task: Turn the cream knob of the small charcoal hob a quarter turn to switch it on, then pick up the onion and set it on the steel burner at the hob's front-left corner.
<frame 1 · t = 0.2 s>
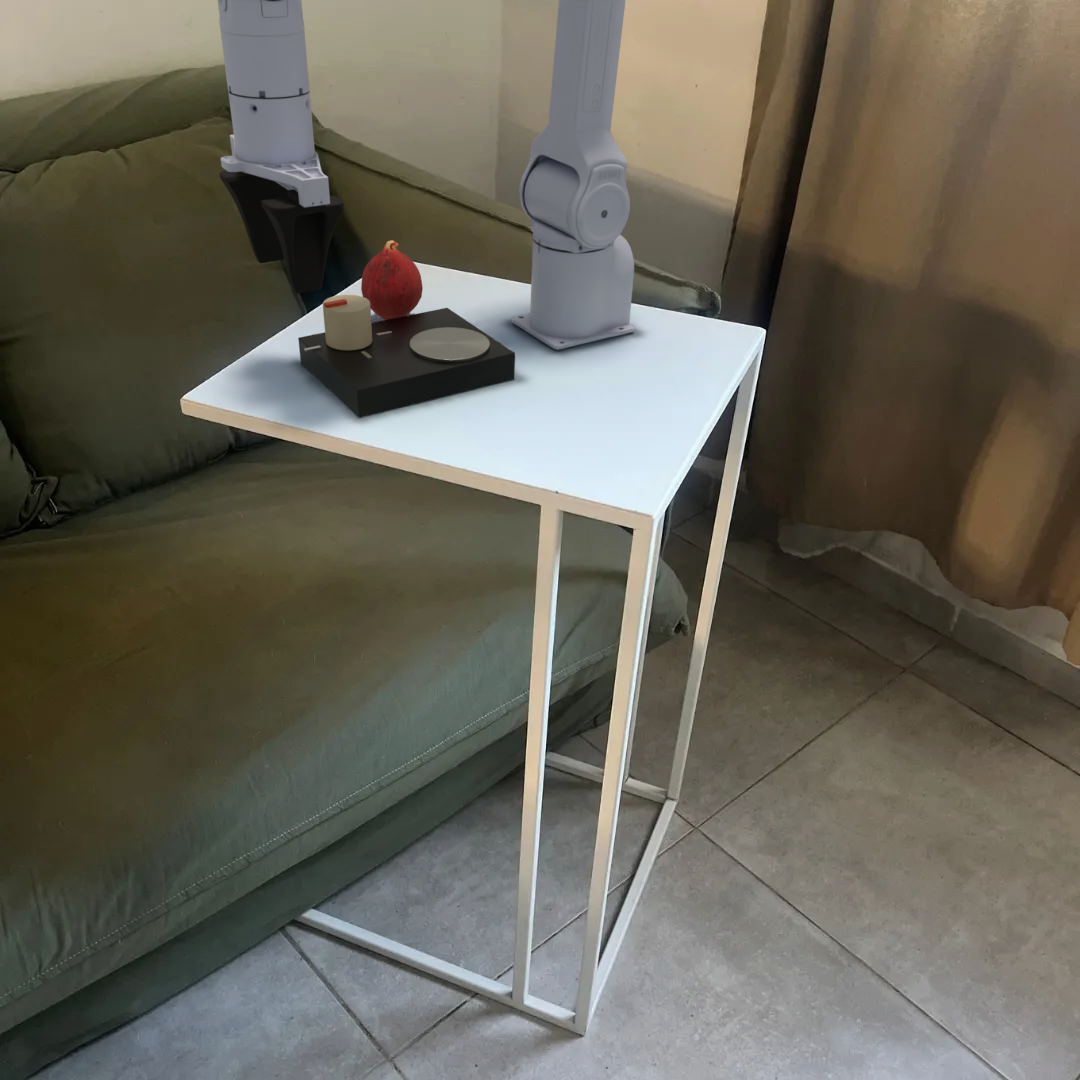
hand: (288, 274, 80), 10 cm above the table, tool pointing down, fingers open, 7 cm apart
onion: (393, 324, 99), on the table
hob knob: (347, 320, 87), point 4 cm above the table, hinge at 0.0°
burner: (449, 346, 89), resting on hob
hob: (407, 371, 90), on the table
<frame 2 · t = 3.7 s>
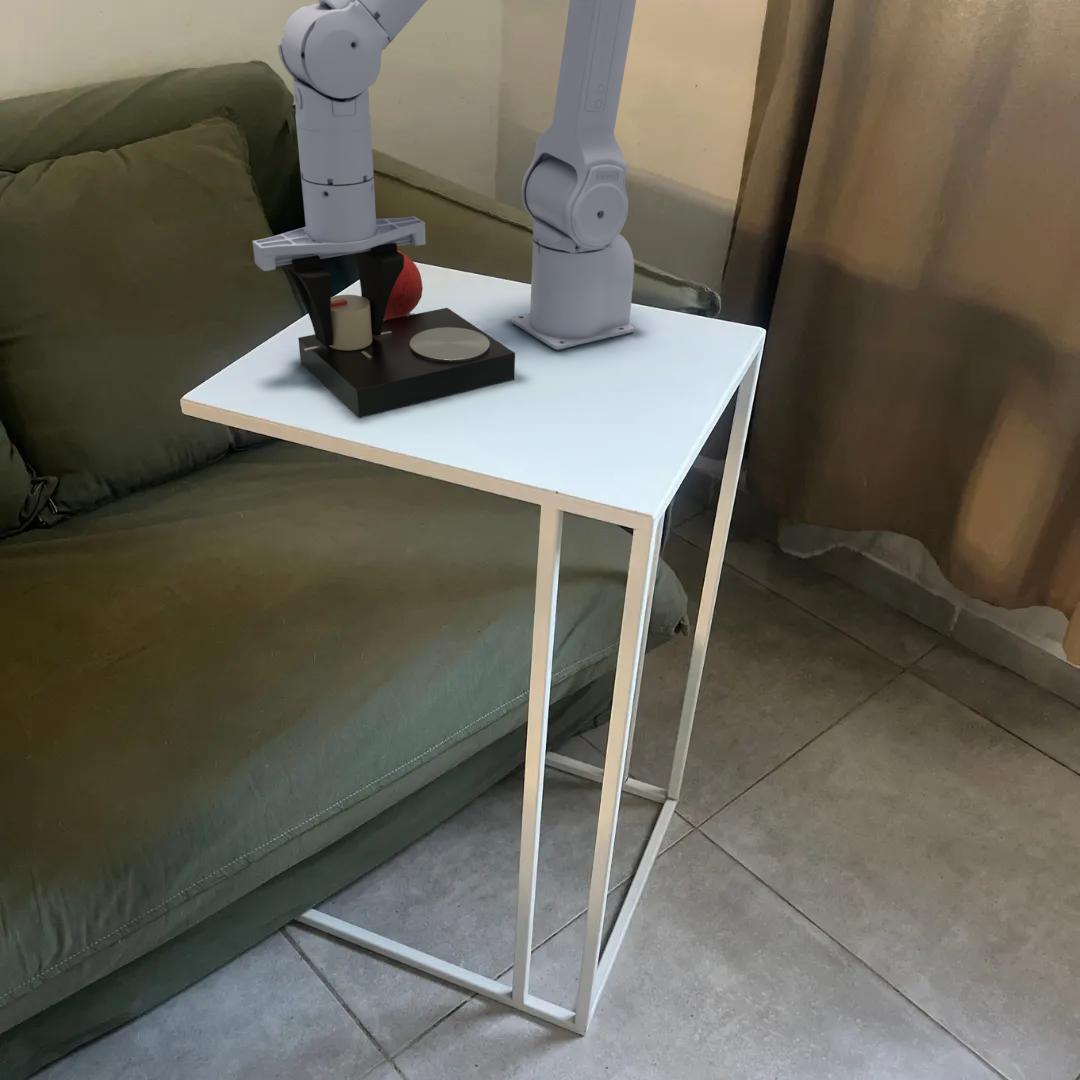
hand: (349, 336, 88), 3 cm above the table, tool pointing down, fingers closed on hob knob, 4 cm apart
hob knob: (347, 320, 87), point 4 cm above the table, hinge at -0.1°, touching gripper
everything else where it was.
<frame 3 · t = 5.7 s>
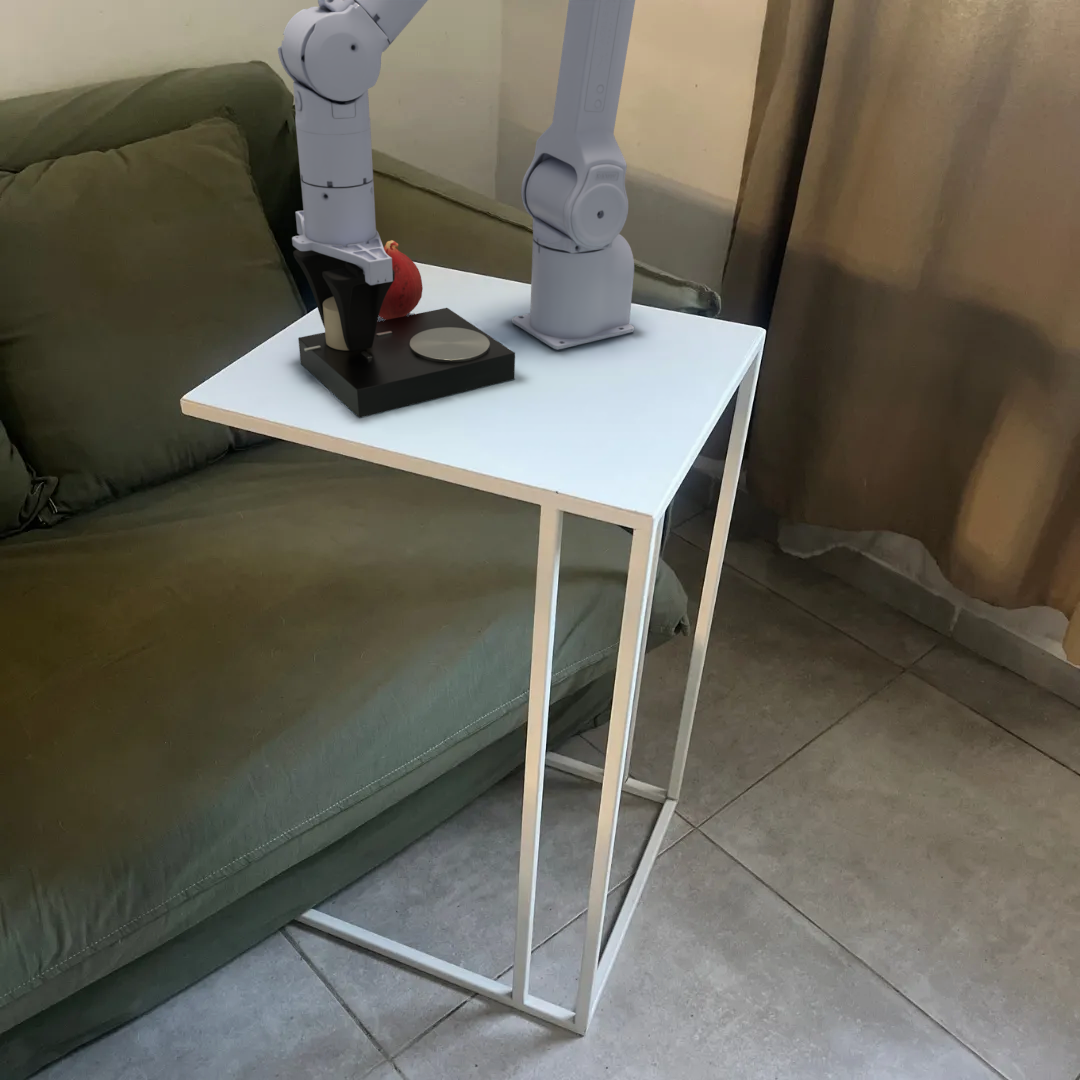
hand: (348, 338, 88), 3 cm above the table, tool pointing down, fingers closed on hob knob, 4 cm apart
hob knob: (347, 320, 87), point 4 cm above the table, hinge at 90.6°, touching gripper
everything else where it was.
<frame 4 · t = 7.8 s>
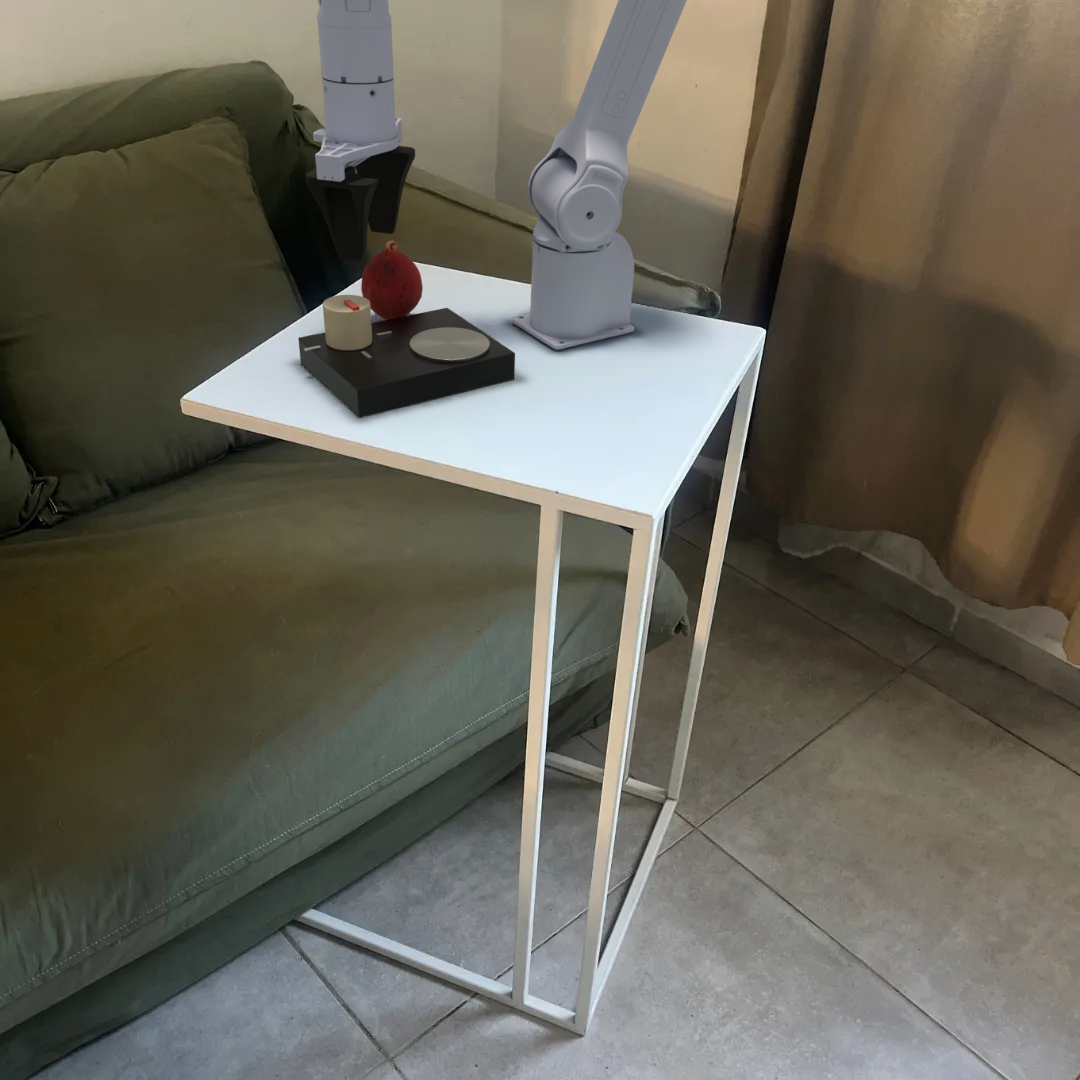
hand: (367, 244, 89), 9 cm above the table, tool pointing down, fingers open, 7 cm apart
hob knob: (347, 320, 87), point 4 cm above the table, hinge at 90.6°
everything else where it was.
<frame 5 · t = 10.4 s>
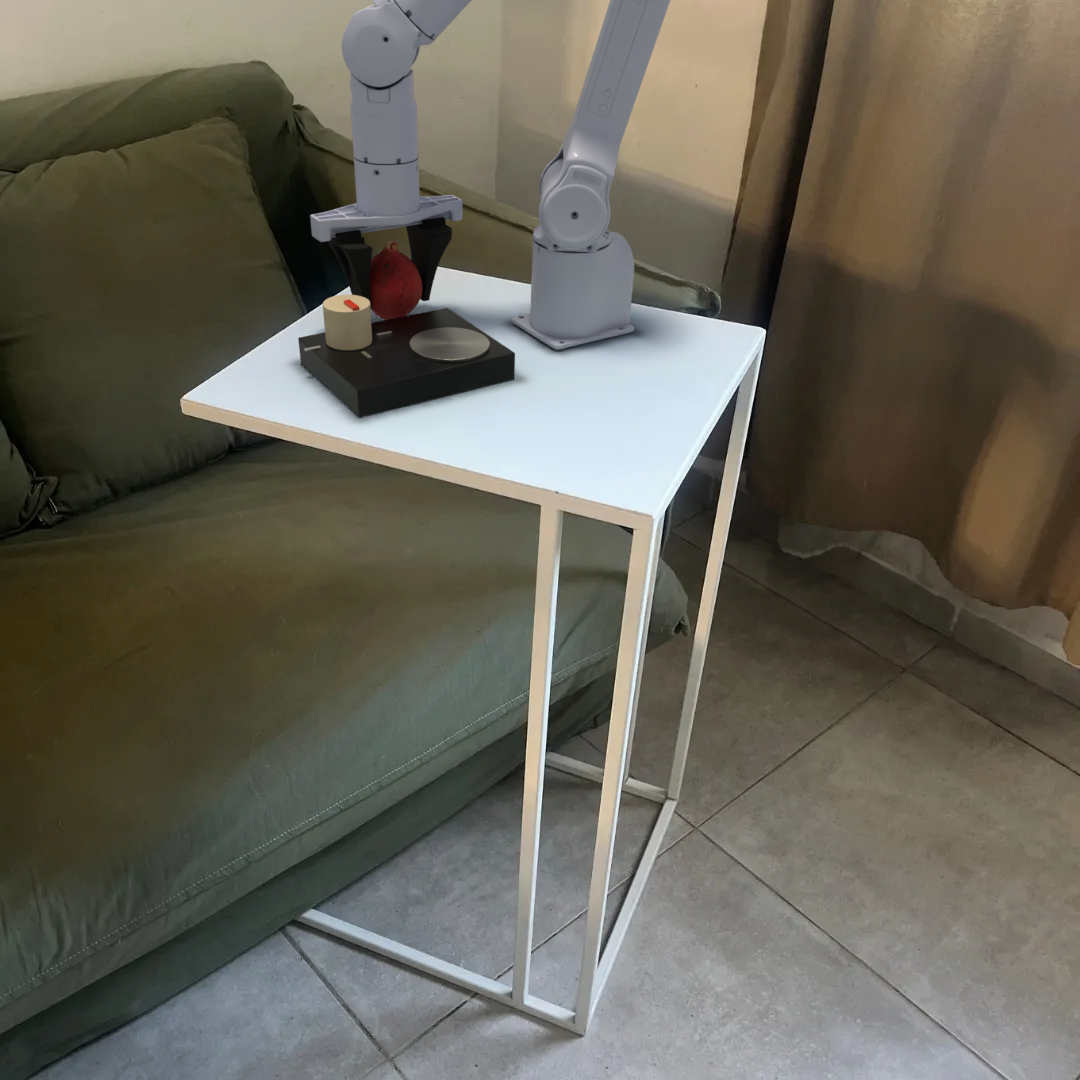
hand: (392, 303, 98), 2 cm above the table, tool pointing down, fingers closed on onion, 6 cm apart
onion: (393, 324, 99), on the table, touching gripper
everything else where it was.
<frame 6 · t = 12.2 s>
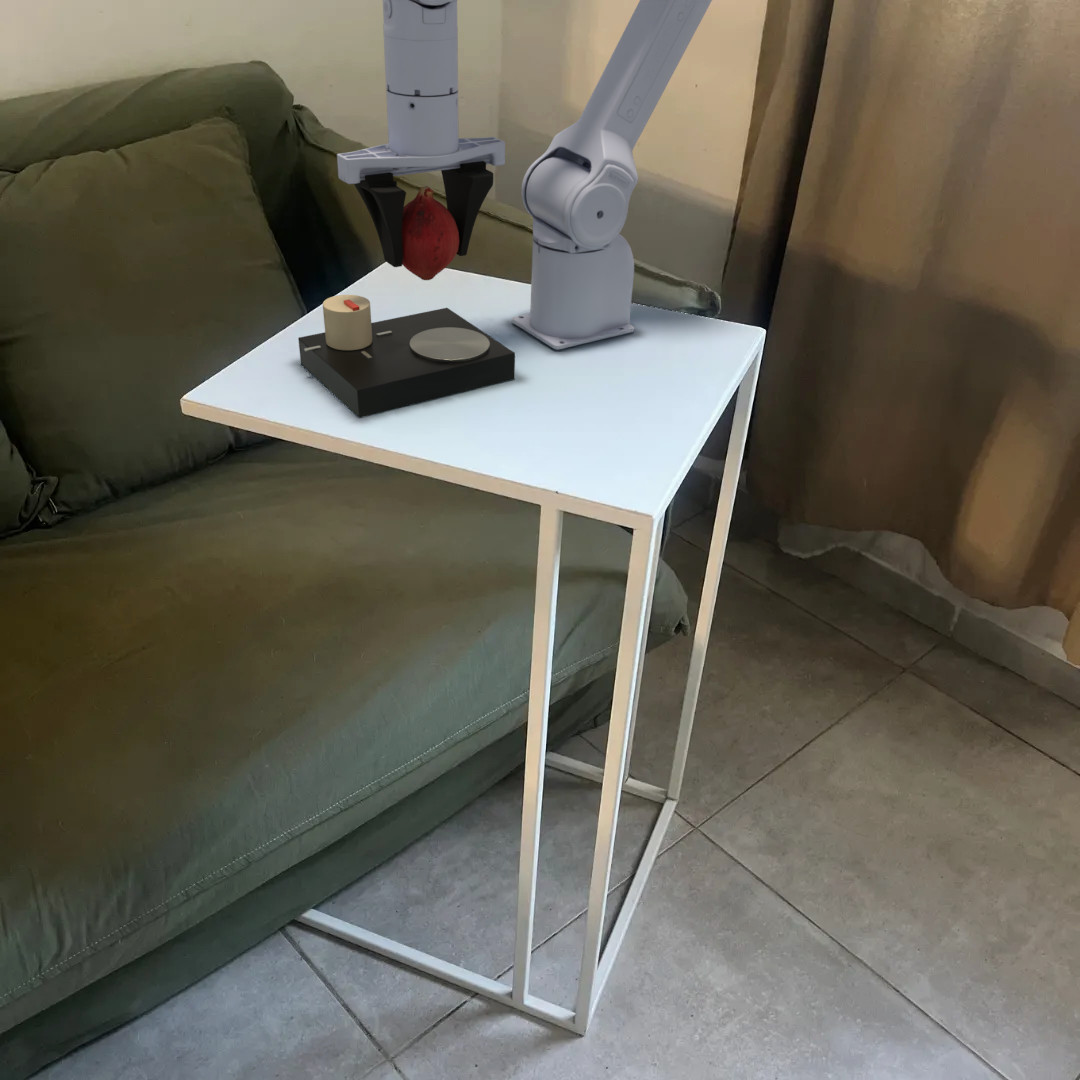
hand: (426, 257, 88), 9 cm above the table, tool pointing down, fingers closed on onion, 6 cm apart
onion: (426, 282, 89), point 7 cm above the table, touching gripper
everything else where it was.
when the fingers open (5 cm above the table, at t = 14.4 s): onion stays where it is, resting on burner.
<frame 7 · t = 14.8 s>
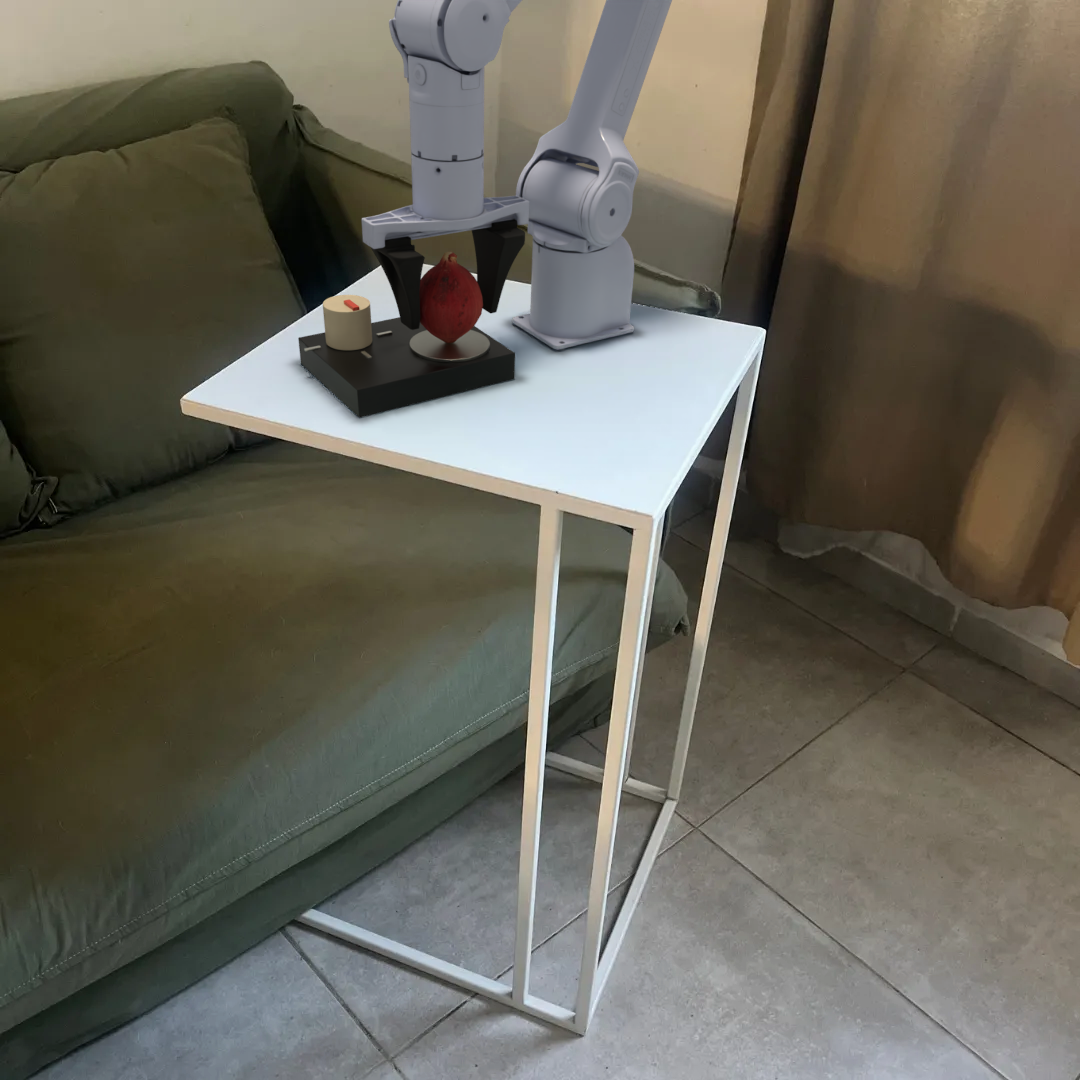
hand: (449, 317, 87), 5 cm above the table, tool pointing down, fingers open, 7 cm apart
onion: (449, 345, 89), point 3 cm above the table, touching burner
everything else where it was.
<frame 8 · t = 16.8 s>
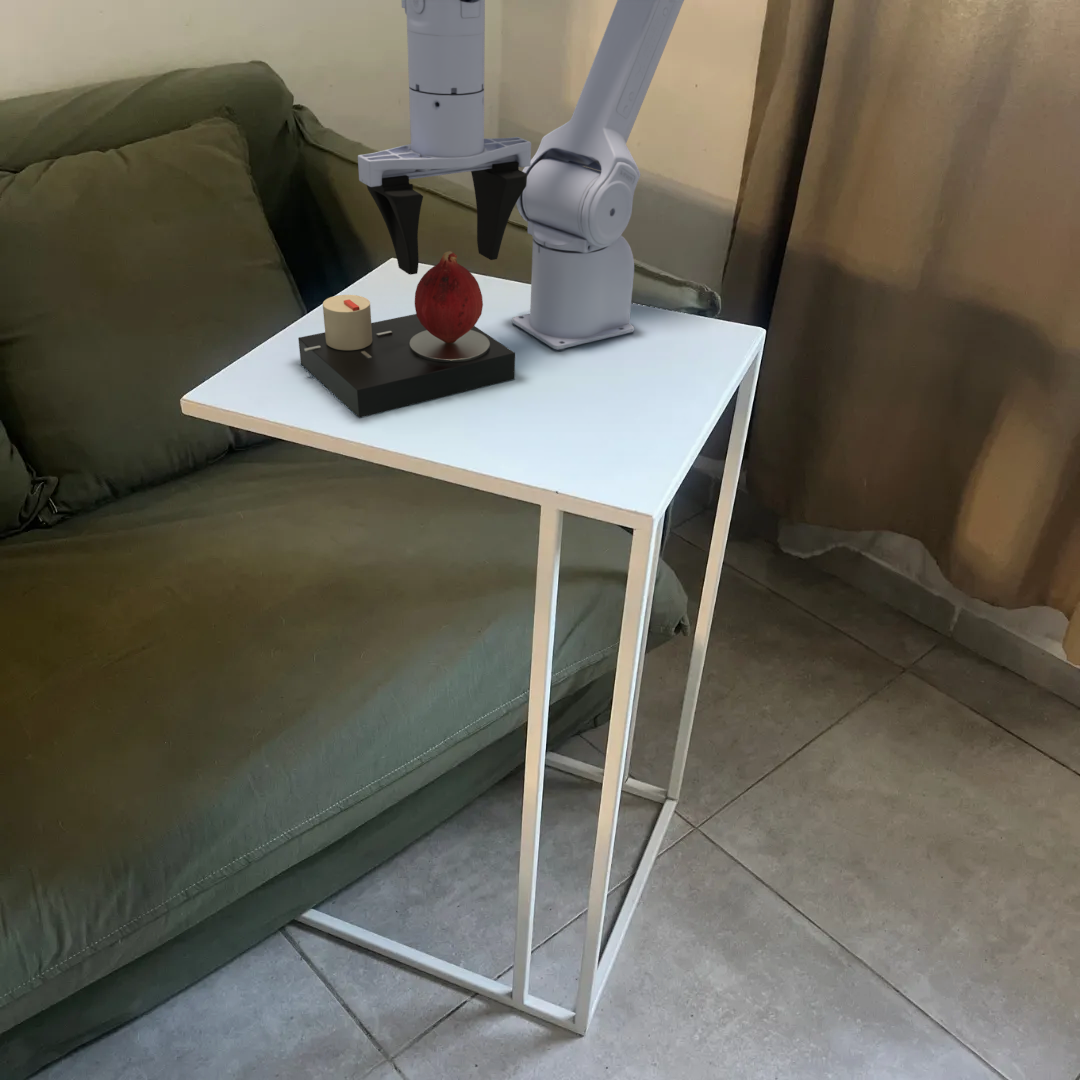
hand: (448, 263, 84), 10 cm above the table, tool pointing down, fingers open, 7 cm apart
nothing on the table moved.
at the end: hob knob at +91° (first picture: +0°); onion inside the target area on the hob (0.7 cm from its centre), point 2.6 cm above the hob's base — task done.
